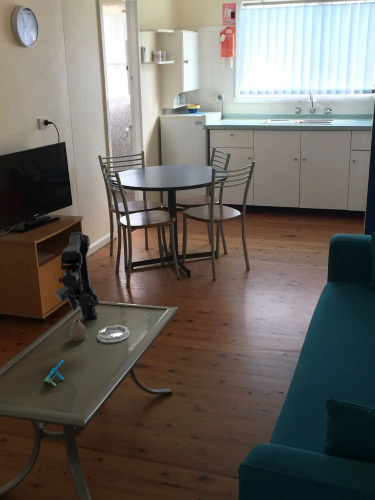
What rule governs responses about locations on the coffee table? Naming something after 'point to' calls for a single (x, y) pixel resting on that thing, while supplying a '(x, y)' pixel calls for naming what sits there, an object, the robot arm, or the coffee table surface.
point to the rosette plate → (113, 334)
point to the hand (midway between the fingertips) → (79, 313)
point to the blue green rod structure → (54, 371)
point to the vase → (77, 331)
